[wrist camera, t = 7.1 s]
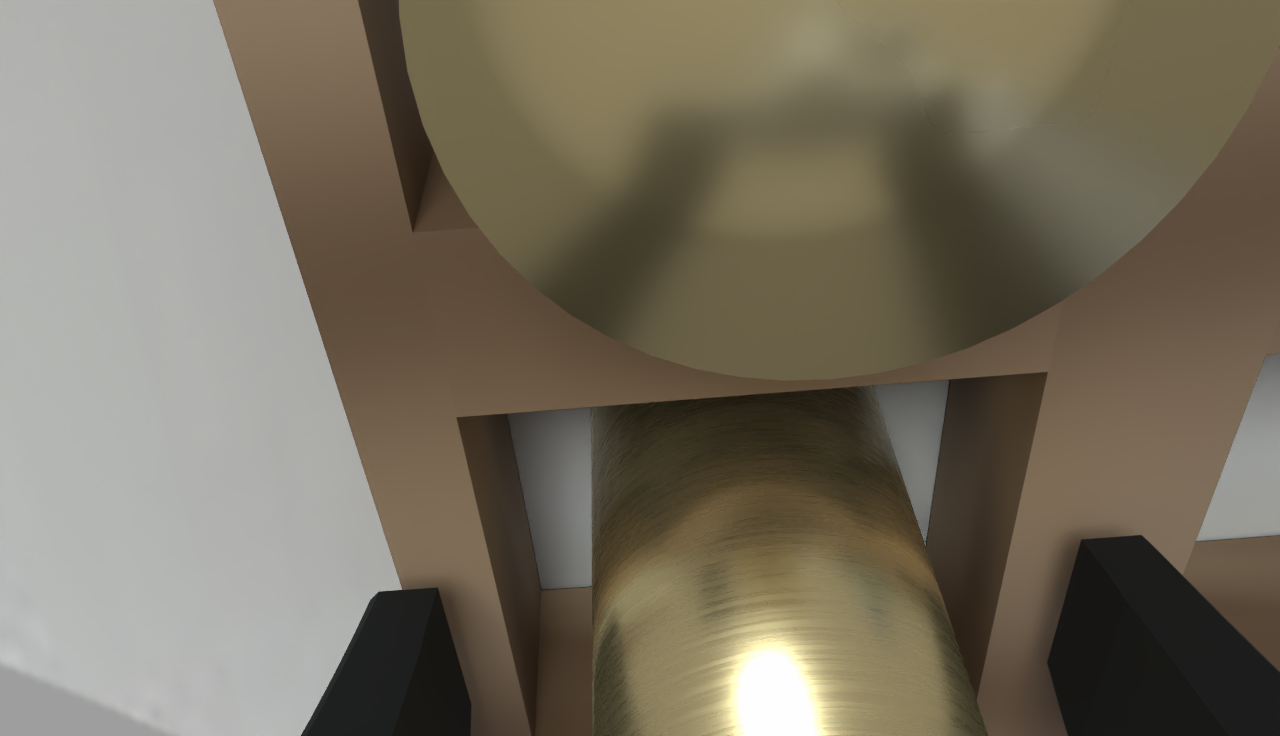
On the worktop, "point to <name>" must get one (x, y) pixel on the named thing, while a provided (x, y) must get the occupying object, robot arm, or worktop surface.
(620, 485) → the brass billet
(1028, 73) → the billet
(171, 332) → the worktop surface
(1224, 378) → the wooden grid frame
